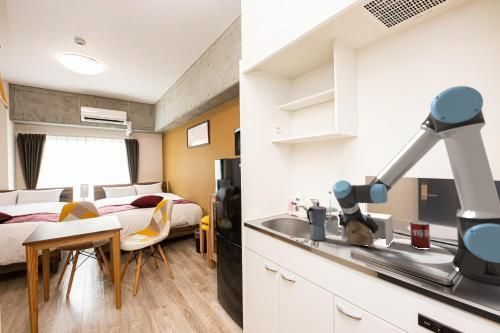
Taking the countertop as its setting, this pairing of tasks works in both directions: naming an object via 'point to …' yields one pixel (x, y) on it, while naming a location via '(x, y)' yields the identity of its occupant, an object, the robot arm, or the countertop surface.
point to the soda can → (420, 234)
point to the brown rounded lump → (359, 234)
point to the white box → (383, 227)
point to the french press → (331, 221)
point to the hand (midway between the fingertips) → (361, 233)
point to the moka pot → (317, 222)
